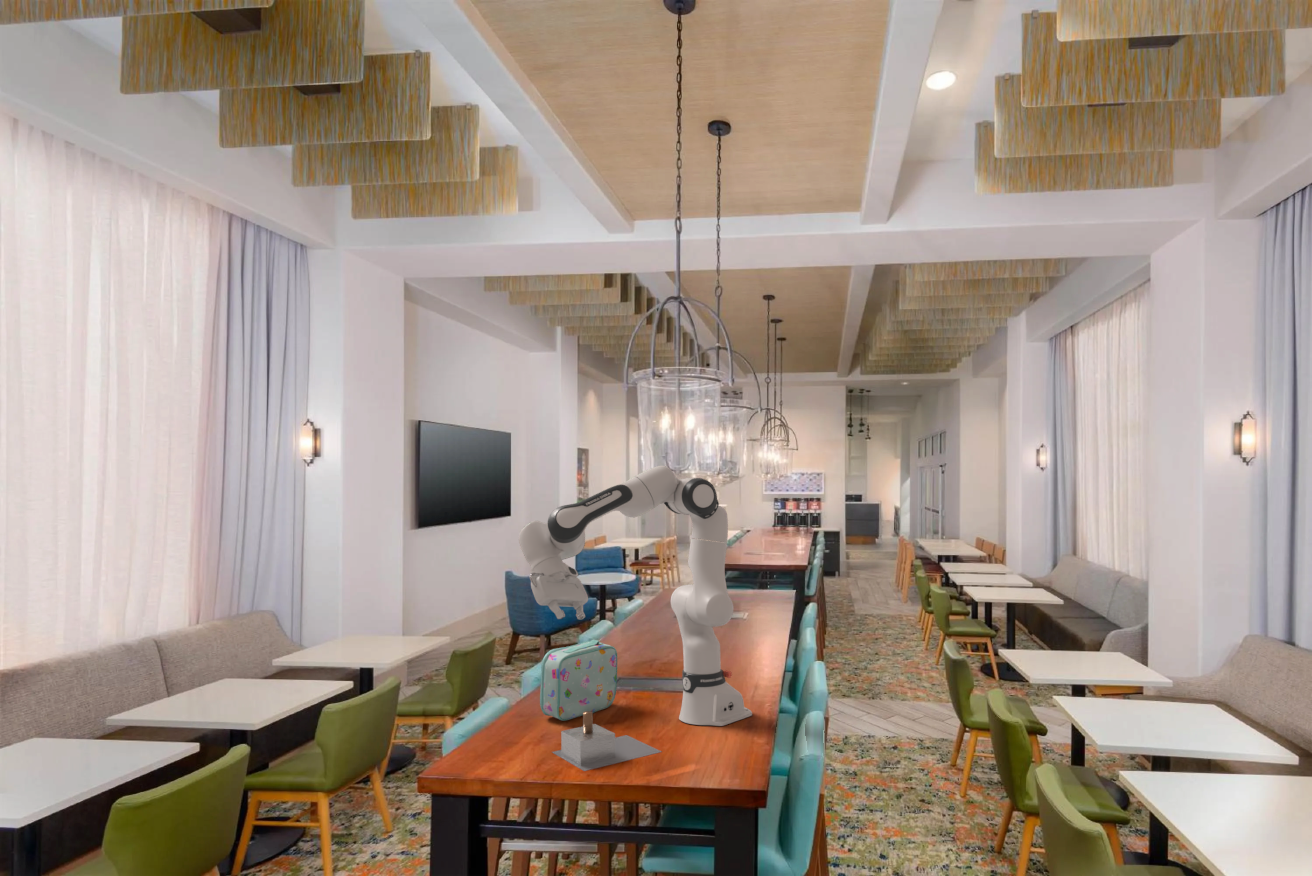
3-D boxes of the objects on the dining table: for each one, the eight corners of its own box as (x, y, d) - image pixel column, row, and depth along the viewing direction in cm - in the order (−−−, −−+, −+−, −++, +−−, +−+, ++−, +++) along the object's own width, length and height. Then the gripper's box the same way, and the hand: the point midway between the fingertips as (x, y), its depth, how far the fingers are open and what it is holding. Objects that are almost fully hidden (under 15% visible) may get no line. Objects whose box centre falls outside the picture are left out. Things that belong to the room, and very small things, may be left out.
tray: (626, 739, 221) (626, 723, 221) (662, 756, 207) (661, 739, 207) (551, 756, 208) (551, 739, 208) (584, 776, 194) (584, 757, 194)
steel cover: (595, 747, 211) (594, 704, 212) (615, 757, 203) (614, 713, 204) (561, 754, 205) (561, 711, 206) (580, 766, 197) (580, 720, 198)
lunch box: (598, 700, 261) (597, 633, 262) (621, 705, 254) (620, 637, 255) (536, 720, 240) (536, 647, 241) (560, 726, 234) (560, 651, 235)
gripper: (536, 565, 211) (557, 610, 205) (579, 570, 229) (600, 612, 223) (519, 579, 213) (540, 624, 207) (564, 583, 231) (584, 624, 224)
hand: (572, 618), depth 215 cm, fingers open, 8 cm apart
